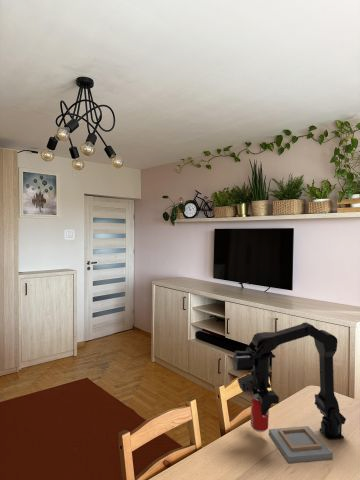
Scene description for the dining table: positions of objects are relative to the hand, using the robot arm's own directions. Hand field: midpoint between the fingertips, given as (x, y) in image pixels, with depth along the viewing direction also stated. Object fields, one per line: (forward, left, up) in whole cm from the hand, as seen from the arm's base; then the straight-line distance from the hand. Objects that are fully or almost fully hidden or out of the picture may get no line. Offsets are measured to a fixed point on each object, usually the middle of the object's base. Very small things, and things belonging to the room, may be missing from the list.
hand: (260, 410), depth 127 cm
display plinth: (-13, +5, -11) cm, 18 cm away
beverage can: (0, 0, -7) cm, 7 cm away
